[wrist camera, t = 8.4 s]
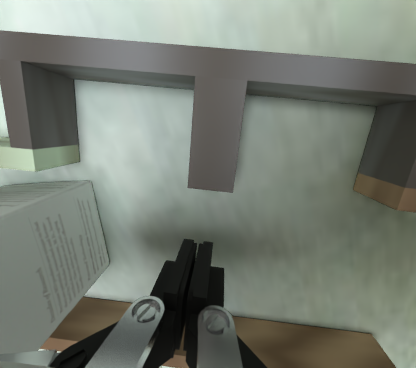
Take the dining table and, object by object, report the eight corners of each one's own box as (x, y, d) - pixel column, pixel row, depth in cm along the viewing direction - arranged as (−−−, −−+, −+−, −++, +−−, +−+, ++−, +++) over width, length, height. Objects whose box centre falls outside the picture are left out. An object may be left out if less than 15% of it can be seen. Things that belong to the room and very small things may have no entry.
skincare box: (31, 266, 14) (-152, 397, 7) (3, 183, 13) (-263, 249, 6) (113, 263, 14) (2, 402, 7) (94, 177, 12) (-75, 242, 5)
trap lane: (467, 91, 10) (568, 76, 7) (367, 344, 14) (404, 399, 11) (-55, 47, 11) (-154, 17, 8) (0, 296, 15) (-52, 335, 12)
